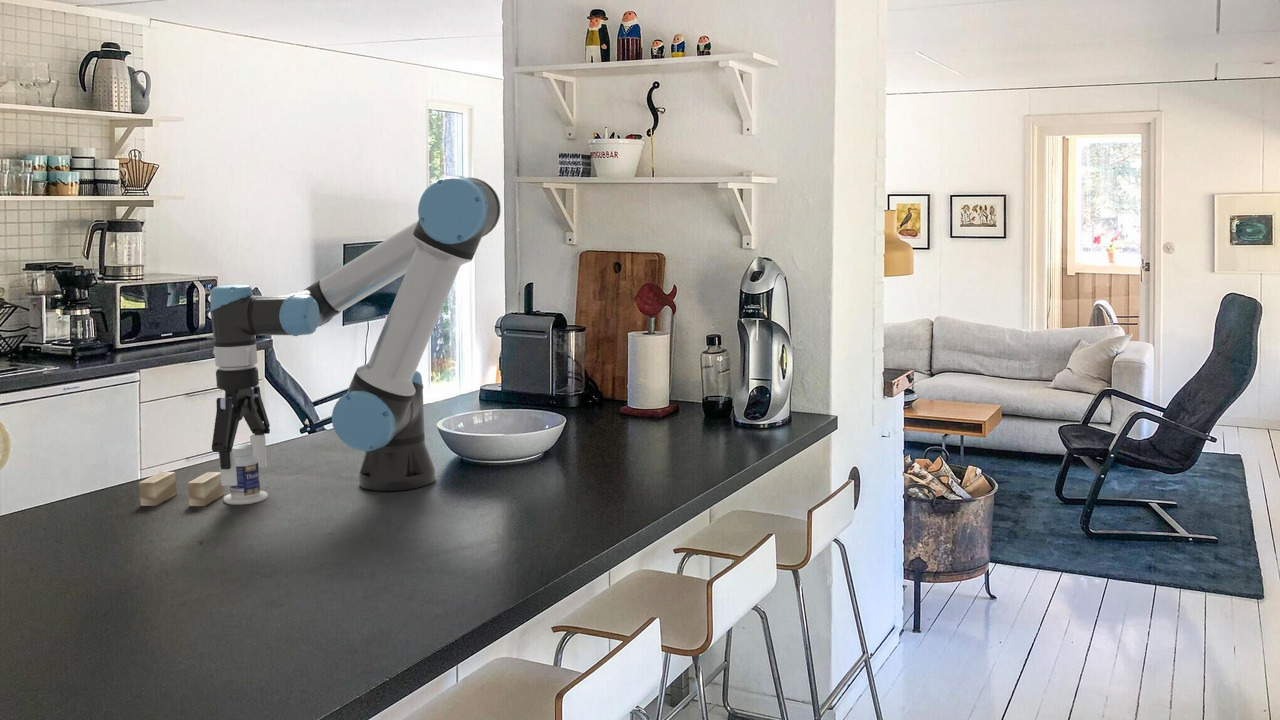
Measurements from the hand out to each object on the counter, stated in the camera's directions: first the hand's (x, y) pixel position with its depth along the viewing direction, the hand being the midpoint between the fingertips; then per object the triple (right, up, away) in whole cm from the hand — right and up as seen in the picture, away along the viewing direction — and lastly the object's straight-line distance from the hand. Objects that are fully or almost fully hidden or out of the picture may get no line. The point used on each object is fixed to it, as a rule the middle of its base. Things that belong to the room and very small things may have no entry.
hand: (245, 476), depth 207 cm
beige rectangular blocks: (-12, -5, +1) cm, 13 cm away
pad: (0, -4, +1) cm, 5 cm away
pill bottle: (0, -4, +1) cm, 4 cm away
